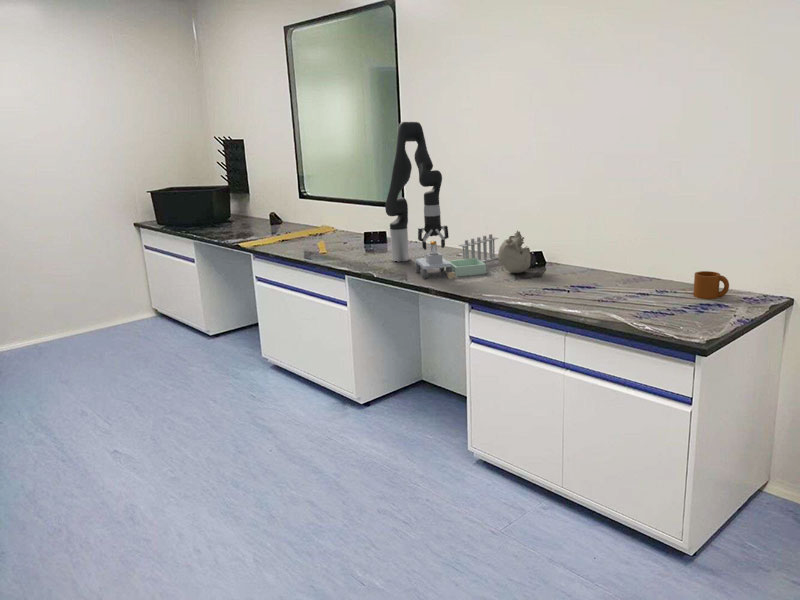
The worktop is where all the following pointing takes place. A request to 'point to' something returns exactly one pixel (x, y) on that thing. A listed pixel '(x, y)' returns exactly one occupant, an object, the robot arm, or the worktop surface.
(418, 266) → the grey stepped platform
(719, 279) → the mug
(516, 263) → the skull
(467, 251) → the test tube rack
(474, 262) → the tray
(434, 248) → the stop pin
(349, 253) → the worktop surface
